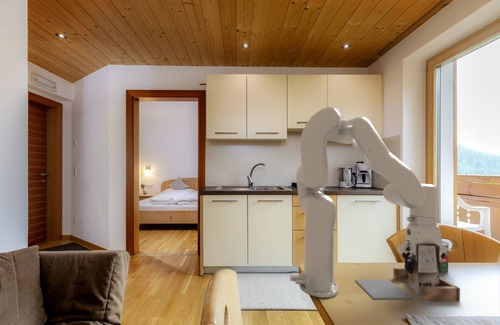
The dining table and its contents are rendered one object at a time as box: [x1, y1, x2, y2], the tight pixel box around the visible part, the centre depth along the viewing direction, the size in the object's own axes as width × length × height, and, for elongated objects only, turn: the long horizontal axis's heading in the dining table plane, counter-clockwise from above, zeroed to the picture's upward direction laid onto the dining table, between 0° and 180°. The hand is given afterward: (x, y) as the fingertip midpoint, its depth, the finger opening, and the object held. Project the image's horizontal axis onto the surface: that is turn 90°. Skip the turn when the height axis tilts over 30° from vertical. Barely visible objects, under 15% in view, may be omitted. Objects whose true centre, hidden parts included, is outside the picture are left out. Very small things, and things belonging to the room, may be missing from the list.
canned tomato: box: [439, 240, 450, 275], centre depth 100 cm, size 8×8×11 cm
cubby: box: [392, 266, 461, 303], centre depth 84 cm, size 11×15×4 cm
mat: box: [354, 279, 412, 300], centre depth 84 cm, size 12×12×1 cm
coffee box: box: [406, 244, 440, 296], centre depth 84 cm, size 9×6×16 cm
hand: (422, 271), depth 84 cm, fingers open, 8 cm apart
